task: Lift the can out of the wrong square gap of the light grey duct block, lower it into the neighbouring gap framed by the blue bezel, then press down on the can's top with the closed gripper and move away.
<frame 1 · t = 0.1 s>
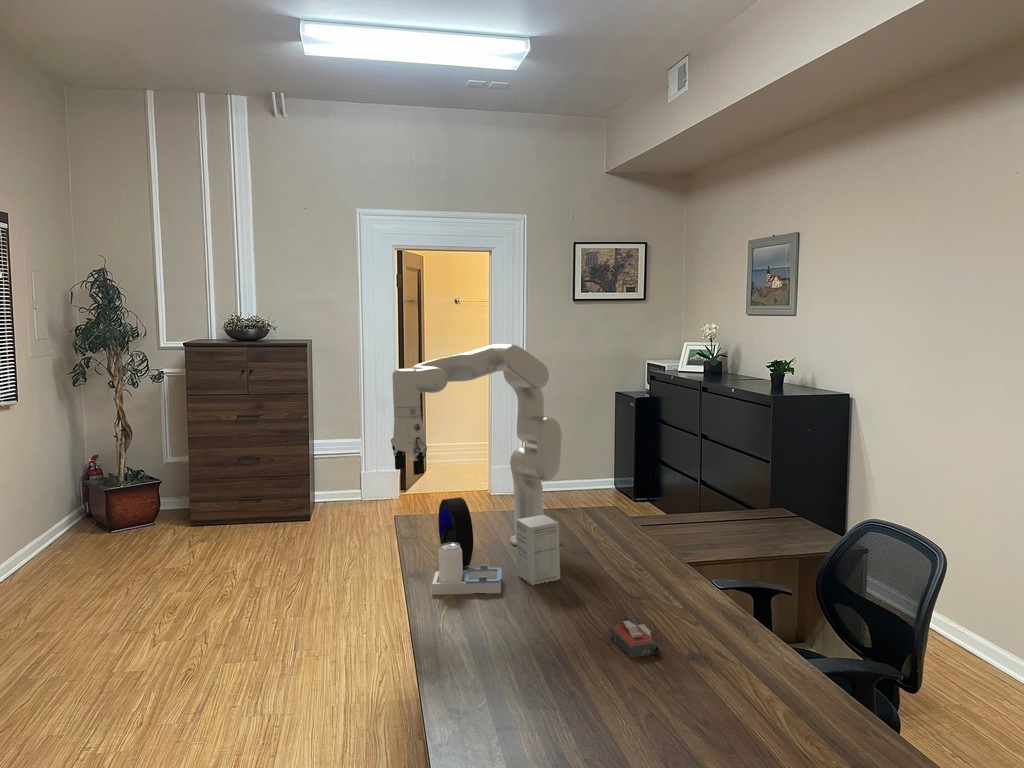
hand: (409, 471, 204), 31 cm above the table, tool pointing down, fingers open, 9 cm apart
can: (451, 588, 199), resting in duct block
duct block: (467, 587, 199), on the table
walkie-talkie: (631, 640, 165), on the table
supplement box: (538, 578, 204), on the table
headphones: (456, 564, 217), on the table
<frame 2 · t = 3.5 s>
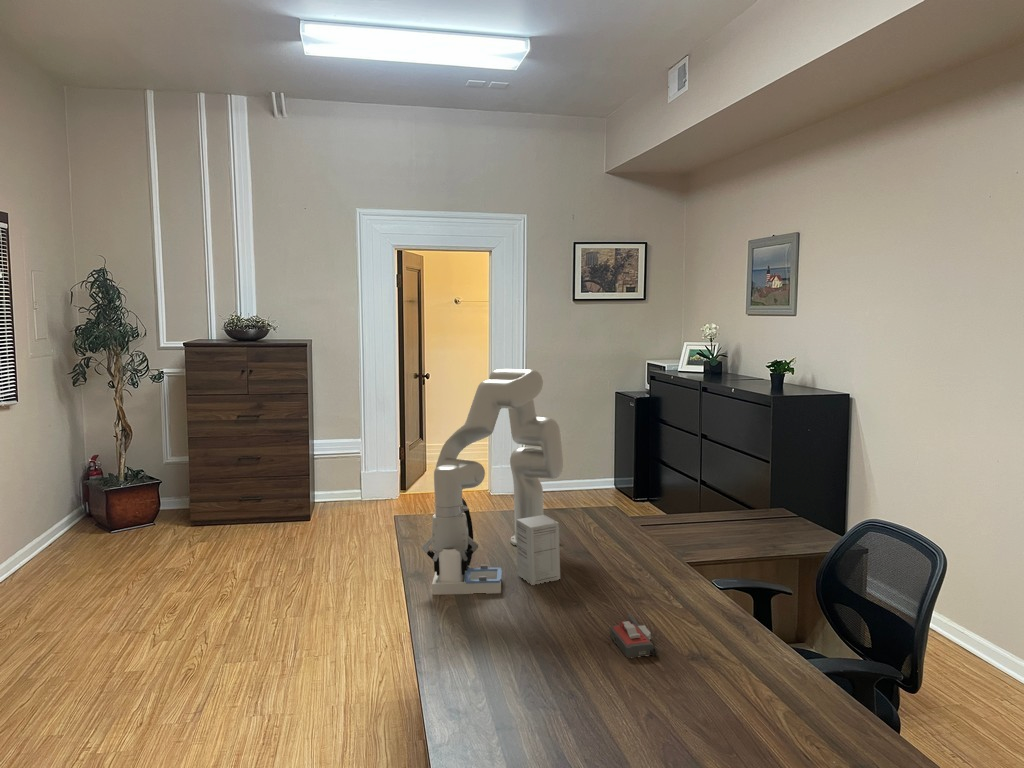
hand: (451, 572, 198), 4 cm above the table, tool pointing down, fingers closed on can, 6 cm apart
can: (451, 588, 199), resting in duct block, touching gripper
everything else where it was.
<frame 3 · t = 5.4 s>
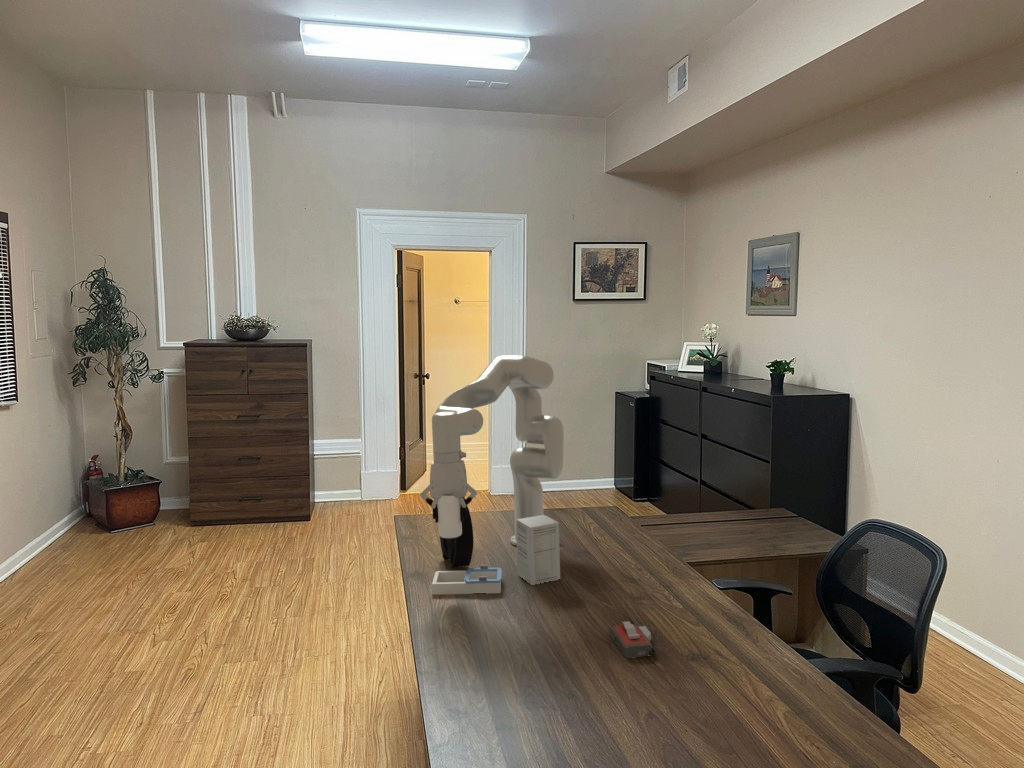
hand: (449, 520, 197), 19 cm above the table, tool pointing down, fingers closed on can, 6 cm apart
can: (450, 536, 197), point 15 cm above the table, touching gripper
everything else where it was.
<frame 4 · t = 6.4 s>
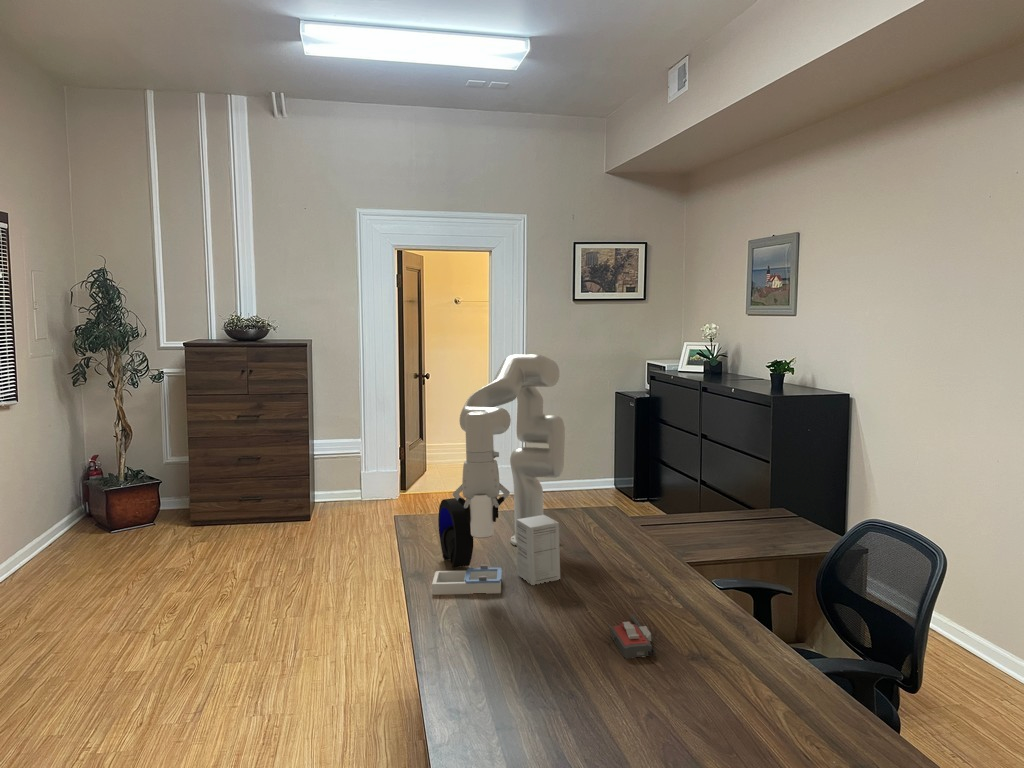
hand: (482, 520, 197), 19 cm above the table, tool pointing down, fingers closed on can, 6 cm apart
can: (482, 535, 197), point 15 cm above the table, touching gripper
everything else where it was.
when the fingers open (5 cm above the table, at t = 9.3 s): can drops 1 cm, resting in duct block.
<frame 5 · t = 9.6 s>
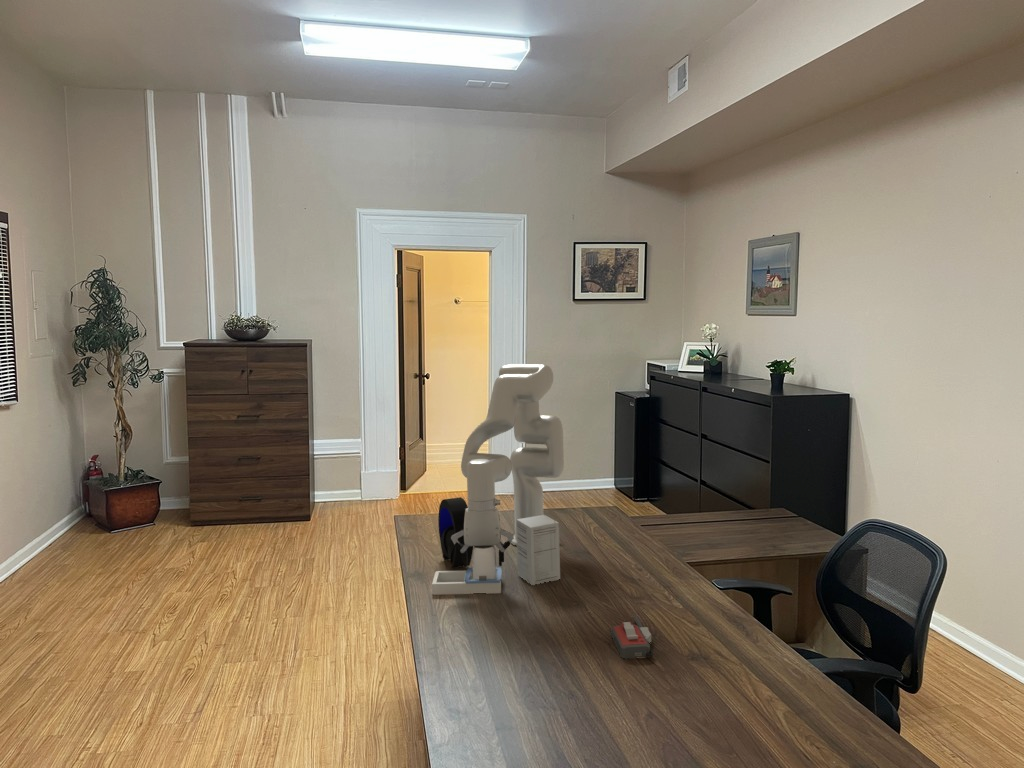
hand: (483, 564, 198), 6 cm above the table, tool pointing down, fingers open, 9 cm apart
can: (485, 587, 199), resting in duct block
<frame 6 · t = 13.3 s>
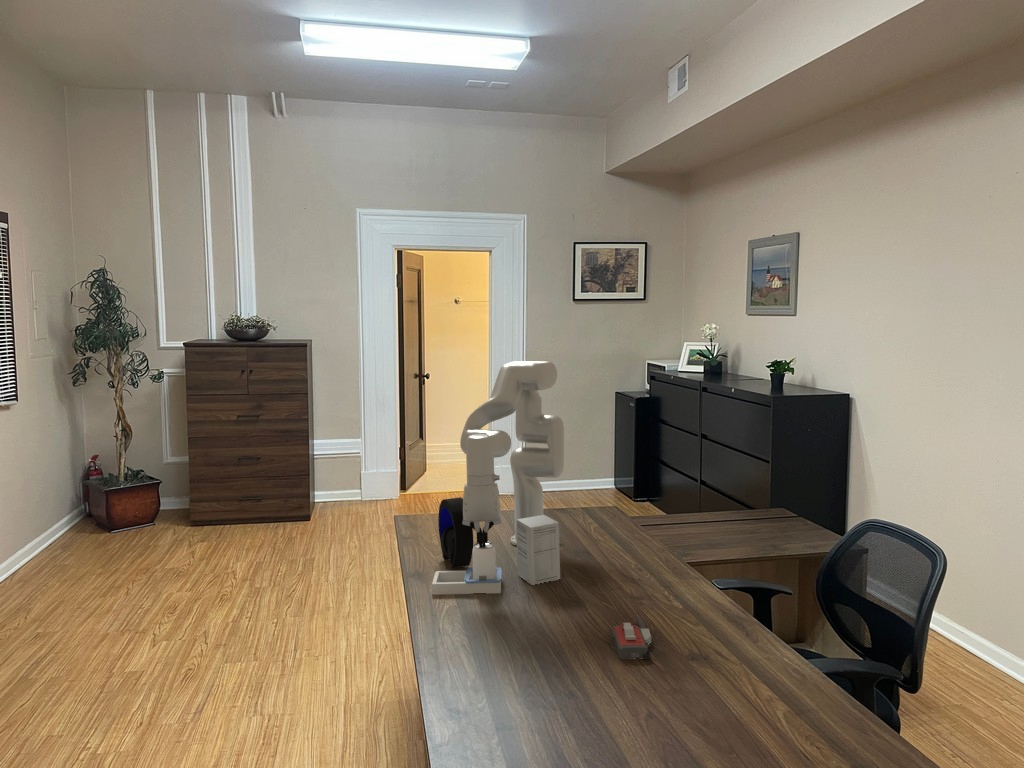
hand: (482, 544, 197), 12 cm above the table, tool pointing down, fingers closed
can: (485, 587, 199), resting in duct block, touching gripper
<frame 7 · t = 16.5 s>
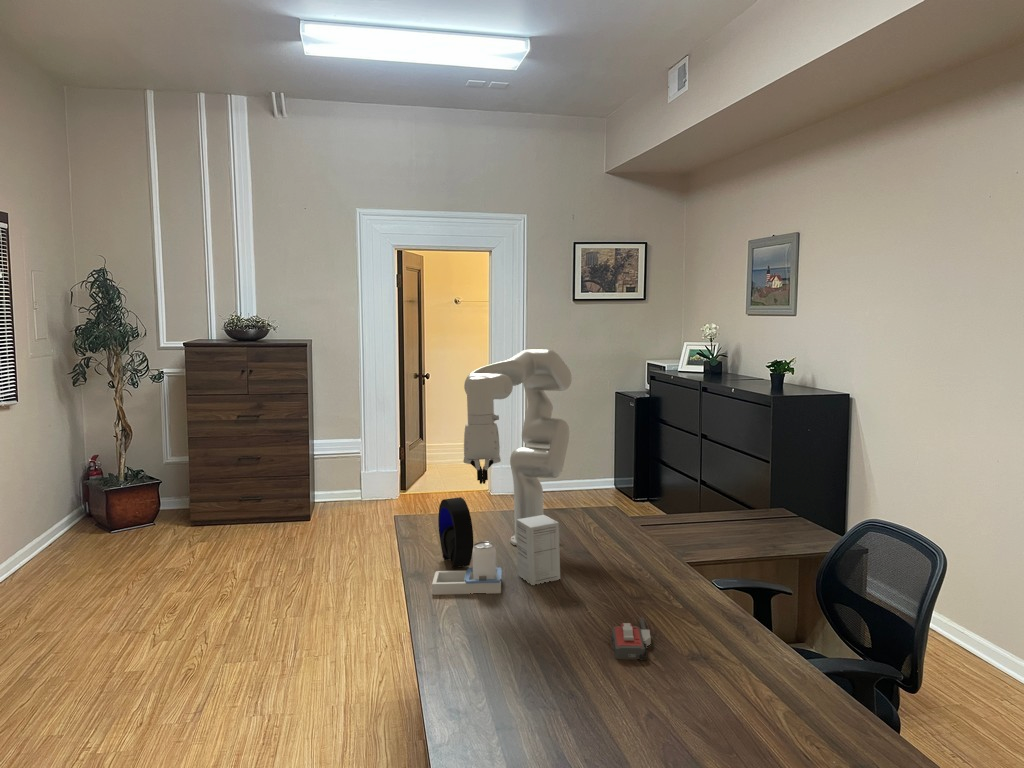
hand: (482, 482, 206), 27 cm above the table, tool pointing down, fingers closed
can: (485, 587, 199), resting in duct block
at the end: can 0.3 cm from the target spot on the duct block, point 0.0 cm above the duct block's base; can tilted 0°; the gripper is holding nothing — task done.
